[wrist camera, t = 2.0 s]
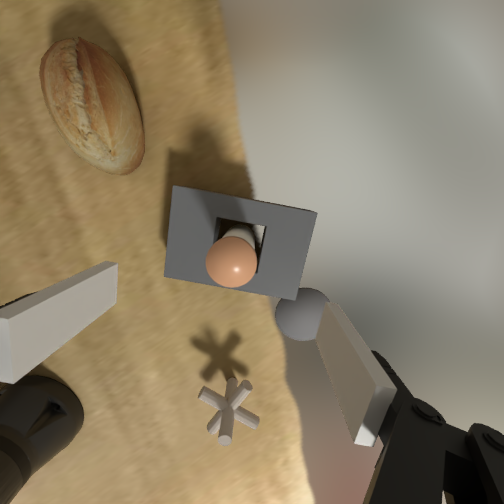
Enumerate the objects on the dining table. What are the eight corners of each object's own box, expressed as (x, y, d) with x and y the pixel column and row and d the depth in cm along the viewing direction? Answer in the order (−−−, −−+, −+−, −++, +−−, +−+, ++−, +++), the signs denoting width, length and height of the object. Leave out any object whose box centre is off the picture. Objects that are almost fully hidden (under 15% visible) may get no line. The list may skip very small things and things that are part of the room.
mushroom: (220, 252, 36) (202, 282, 24) (225, 219, 34) (209, 233, 22) (253, 258, 36) (251, 291, 24) (260, 225, 34) (261, 243, 23)
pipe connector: (223, 346, 39) (212, 397, 30) (272, 376, 41) (277, 434, 31) (193, 387, 42) (173, 447, 32) (240, 414, 43) (235, 479, 33)
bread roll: (125, 40, 29) (77, -14, 22) (169, 163, 33) (142, 155, 25) (56, 67, 30) (-14, 24, 22) (106, 184, 34) (61, 182, 26)
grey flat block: (175, 266, 36) (163, 276, 32) (184, 186, 33) (172, 185, 29) (290, 287, 37) (295, 300, 32) (309, 210, 34) (317, 212, 29)
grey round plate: (270, 333, 39) (270, 335, 38) (282, 282, 36) (282, 283, 36) (324, 343, 39) (324, 345, 39) (339, 293, 37) (340, 294, 36)
